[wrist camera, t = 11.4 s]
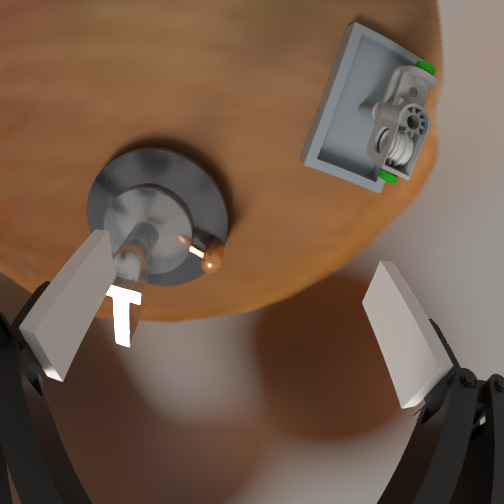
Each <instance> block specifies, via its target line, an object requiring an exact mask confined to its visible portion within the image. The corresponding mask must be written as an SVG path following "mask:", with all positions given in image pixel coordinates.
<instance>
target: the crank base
mask: <svg viewBox="0 0 504 504" xmlns="http://www.w3.org/2000/svg"><path fill="white" fill-rule="evenodd" d="M144 183H152V184H157V185H161V186H164V187H166V188H168V189H170V190H172V191H173V192H175V193H176V194H177V195H178V196H180V197H181V198H182V199H183V201H184V202H185V203H186V204H187V206H188V208H189V209H190V211H191V214H192V216H193V220H194V225H195V233H194V239H193V242H192V245H191V248H190V251H189V253H188V255H187V257H186V259H185V260H184V261H183V262H182V263H181V264H180V265H179V266H178V267H177V268H175V269H173V270H171V271H169V272H166V273H161V274H148V282H147V283H148V284H152V285H160V286H171V285H179V284H183V283H187V282H189V281H192V280H194V279H196V278H198V277H200V276H202V275H203V274H204V273H209V274H215V273H217V272H218V271H219V270H220V268H221V262H222V256H223V250H224V245H225V242H226V237H227V231H228V222H229V215H228V206H227V202H226V198H225V196H224V193H223V190H222V189H221V187H220V185H219V183H218V181H217V180H216V179H215V177H214V176H213V174H212V173H211V172H210V171H209V170H208V169H207V168H206V167H205V166H204V165H203V164H202V163H200V162H199V161H198V160H196V159H195V158H193V157H192V156H190V155H188V154H186V153H184V152H182V151H179V150H176V149H173V148H169V147H162V146H148V147H141V148H137V149H134V150H131V151H129V152H127V153H125V154H123V155H121V156H119V157H118V158H116V159H115V160H113V161H112V162H110V163H109V164H108V165H107V166H106V167H105V168H104V169H102V171H101V172H100V173H99V175H98V176H97V177H96V179H95V181H94V183H93V185H92V187H91V190H90V193H89V197H88V204H87V218H88V224H89V228H90V231H91V234H92V233H93V231H94V230H95V229H97V230H104V218H105V214H106V211H107V209H108V207H109V206H110V204H111V203H112V202H113V201H114V200H115V199H116V198H117V197H118V196H119V195H120V194H121V193H122V192H124V191H125V190H126V189H128V188H129V187H132V186H134V185H138V184H144ZM113 255H114V253H113V252H112V257H113Z"/></svg>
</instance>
